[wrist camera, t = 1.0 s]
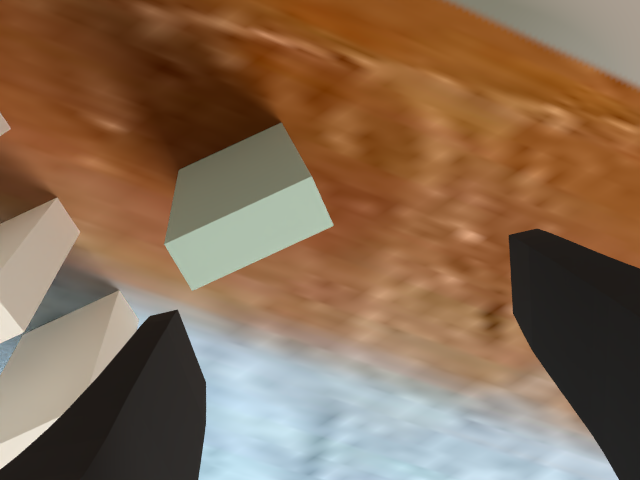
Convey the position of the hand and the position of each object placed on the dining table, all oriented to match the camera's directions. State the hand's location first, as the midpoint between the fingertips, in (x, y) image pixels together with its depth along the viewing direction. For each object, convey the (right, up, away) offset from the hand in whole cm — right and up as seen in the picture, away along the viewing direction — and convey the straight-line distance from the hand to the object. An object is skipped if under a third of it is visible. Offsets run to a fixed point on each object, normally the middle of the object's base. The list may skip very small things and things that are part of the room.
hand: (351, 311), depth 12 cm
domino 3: (-4, +4, +10) cm, 12 cm away
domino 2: (-11, -2, +12) cm, 16 cm away
